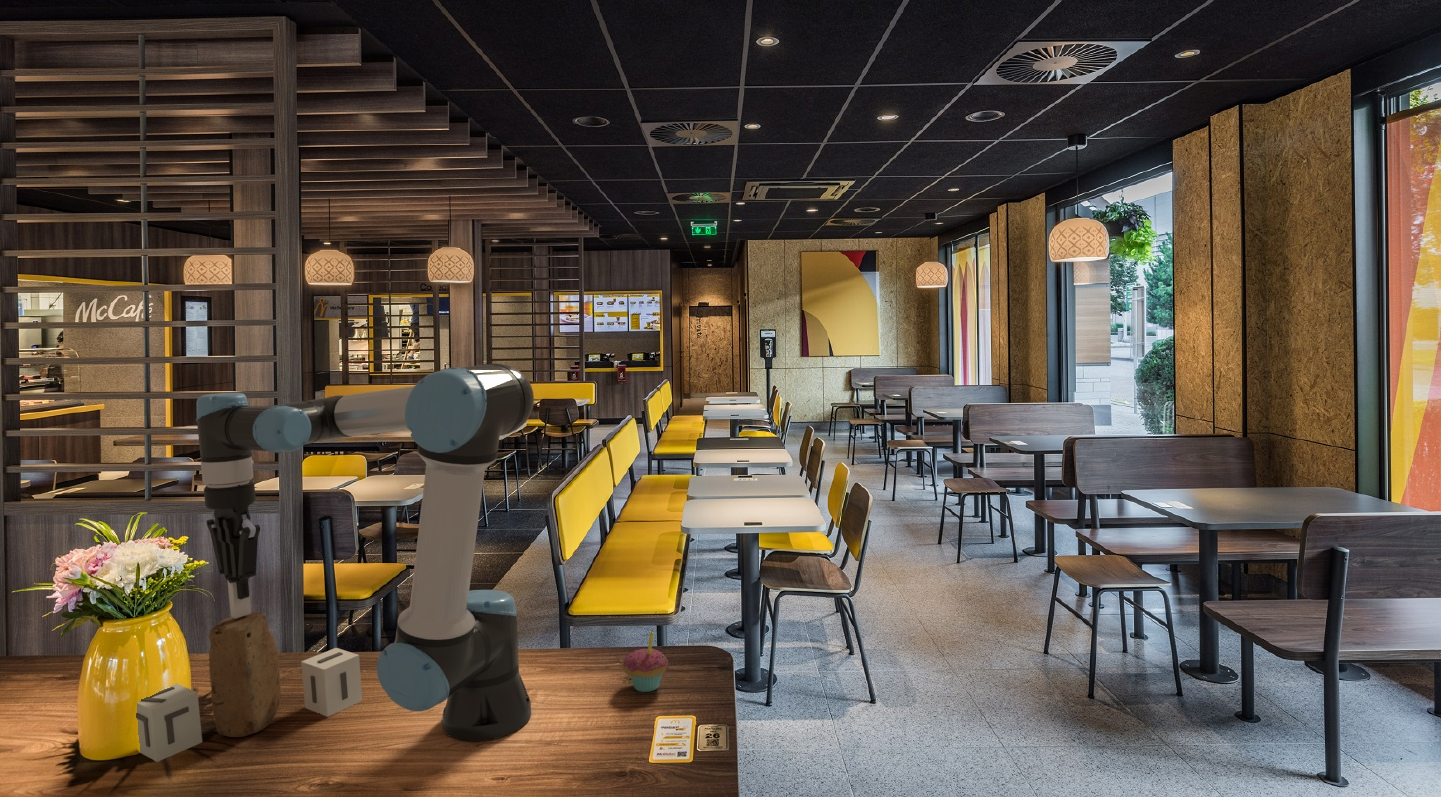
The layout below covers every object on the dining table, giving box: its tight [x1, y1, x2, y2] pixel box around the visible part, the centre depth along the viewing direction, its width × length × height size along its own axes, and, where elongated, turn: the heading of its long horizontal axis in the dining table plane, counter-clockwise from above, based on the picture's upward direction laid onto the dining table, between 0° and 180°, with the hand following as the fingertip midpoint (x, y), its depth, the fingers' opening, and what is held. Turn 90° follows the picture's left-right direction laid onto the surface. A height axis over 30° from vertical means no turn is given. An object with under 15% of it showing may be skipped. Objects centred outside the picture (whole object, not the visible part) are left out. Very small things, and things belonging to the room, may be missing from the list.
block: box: [208, 610, 282, 738], centre depth 145 cm, size 11×8×20 cm
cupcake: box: [622, 628, 669, 693], centre depth 156 cm, size 9×8×12 cm
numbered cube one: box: [300, 647, 363, 718], centre depth 152 cm, size 7×7×9 cm
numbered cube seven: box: [136, 683, 203, 763], centre depth 138 cm, size 7×7×9 cm
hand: (241, 614), depth 143 cm, fingers closed
